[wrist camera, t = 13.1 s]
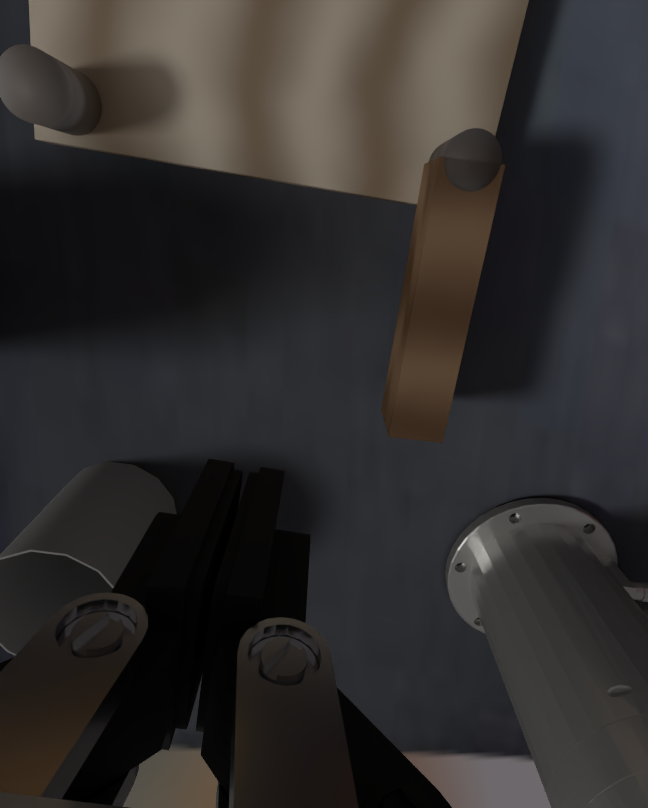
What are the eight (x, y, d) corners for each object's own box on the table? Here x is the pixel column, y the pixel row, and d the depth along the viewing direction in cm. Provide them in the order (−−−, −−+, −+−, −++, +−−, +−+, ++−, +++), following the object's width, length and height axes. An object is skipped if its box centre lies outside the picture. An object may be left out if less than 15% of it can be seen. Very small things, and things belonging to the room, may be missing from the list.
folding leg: (428, 136, 26) (446, 123, 22) (485, 144, 26) (512, 132, 22) (381, 410, 31) (388, 436, 28) (428, 415, 31) (442, 442, 28)
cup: (185, 556, 39) (140, 666, 29) (79, 562, 39) (1, 673, 29) (165, 457, 36) (107, 545, 26) (50, 465, 36) (-47, 554, 26)
